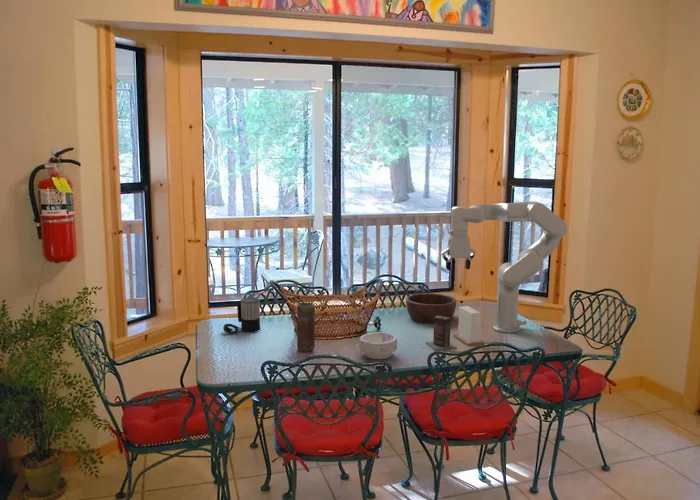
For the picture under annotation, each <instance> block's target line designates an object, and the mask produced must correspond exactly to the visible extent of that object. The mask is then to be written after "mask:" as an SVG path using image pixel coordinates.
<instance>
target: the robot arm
mask: <svg viewBox="0 0 700 500" xmlns="http://www.w3.org/2000/svg"><path fill="white" fill-rule="evenodd" d="M450 212H451V213H450V214H451V215H450V218H451V220H450V230H448V232H447V233H448V235H449V237H448V239H447V240H448V241H447V248H446V249H444V250H443V251H441V252H440V255H441V257H442V259H443V260H444V261H445V269H446V270H447V271H451V269H452V267H451V265H452V263H451V260H453V259H464V258H465V263H464V264H465V266H464V267H465V269H466V270H470V268H471V261H472V260H473V258H474V257H475V256H476V250H474V249H472V248H471V241H470V236H469V235H468V224H469V223H473V224H481V223H483V222H484V221H499V222H509V223H510V222H524V221H526V222H528V221H532V222H534V223H535V224H536V225H537V226H538V227H539V228H541V229H542V234H541V236H540V238H538V239H537V240H536V241H535V242H533V243H532V244H531V245H529V246H528V247H527V248H525V249H524V250H522V251H521V252H520V253H519V254H518V256H517V261H516V262H515V263H513V262H504V263H502V264H501V265H500V266H499V267H498V270H497V275H496V276H497V297H496V298H497V300H496V303H497V304H496V323H495V324H493V325H492V328H493V330H494V331H497V332H501V333H507V334H508V333H510V334H512V333H518V332H520V331H521V325H522V326H525V325H528V322H527V320H521V319H518V313H519V311H518V310H519V298H520V297H519V294H520V292H519V291H520V289H519V287H520V285H522V284H523V283H525V282H526V281H528V280H529V279H530V278H532V277H534V276H535V275H536V274H537V273H539V272H540V271H541V269H542V268H543V266H544V260H545V259H547V257H549V256H550V255H551V254H552V253H554V252H555V250H556V249H557V248H558V247H559V245H560V242H561V238H563V237H564V236H565V235H566V234H567V232H568V225H567V223H566V222H565V221H564V219H562V218H561V217H560V216H558V214H555V213H554V211H552V210H551V209H550V208H548V207H547V206H546V205H545V204H543V203H542V202H538V201H521V202H504V203H503V202H502V203H488V204H486V203H485V204H484V203H483V204H474V205H471V206H469V207H467V206H461V205H458V206H457V205H456V206H452V208H451V211H450ZM446 254H447V256H446Z"/></svg>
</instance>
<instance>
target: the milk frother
mask: <svg viewBox="0 0 700 500" xmlns="http://www.w3.org/2000/svg"><path fill="white" fill-rule="evenodd" d="M260 301H261V299H260V298H258V297H244V298H241V299H239V301H238V302H237V304H236V308H237V309H236V310H237V321H238V322H239V323H241V325H240V326H241V327H239V326H237V325H235V324H233V323H225V324H224V325H223V327H222V328H223V331H224V332H225V333H227V334H228V333H229V334H231V335H234V334H233V333H235V334H237V333H238V332H239V329H240V331H241V332H242V331H244V332H243V333H246V332H254V333H256V332H255V331H258V330H260V329H261V318H260V317H261V314H260V313H261V305H260ZM233 329H234V330H233ZM260 331H261V330H260ZM236 332H237V333H236ZM258 332H259V331H258Z"/></svg>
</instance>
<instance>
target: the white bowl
mask: <svg viewBox="0 0 700 500" xmlns="http://www.w3.org/2000/svg"><path fill="white" fill-rule="evenodd" d="M397 349H398V338H397V336H396V335H395V334H392V333H387V332H381V331H379V332H368V333H365V334H363V335H361V336H360V337H359V350H360V351H361V352H363V353H364V355H365V356H366V357H367V358H368V359H371V360H386V359H388V358H391V356H392V354H393V353H395V352H396V351H397Z"/></svg>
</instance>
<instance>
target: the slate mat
mask: <svg viewBox="0 0 700 500" xmlns="http://www.w3.org/2000/svg"><path fill="white" fill-rule="evenodd" d="M425 344H426V345H427V346H428V347H429V348H431V349H433V351H446V350H455V349H457V346H456V345H455V344H452V343H451V342H450V345H448V346H446V347H444V346H440V345H436V344H433V341H425Z"/></svg>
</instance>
